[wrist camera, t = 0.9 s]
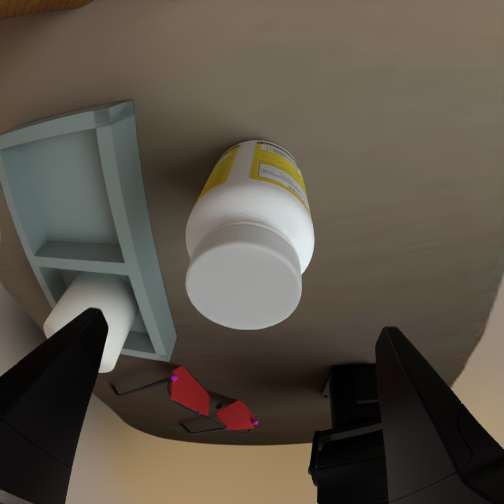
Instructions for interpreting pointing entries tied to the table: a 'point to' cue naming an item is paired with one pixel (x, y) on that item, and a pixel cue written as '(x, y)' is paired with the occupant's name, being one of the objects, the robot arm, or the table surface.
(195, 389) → the glasses
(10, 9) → the disposable coffee cup
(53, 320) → the white pillar candle
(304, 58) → the table surface
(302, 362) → the table surface
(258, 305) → the supplement bottle
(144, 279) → the tray
